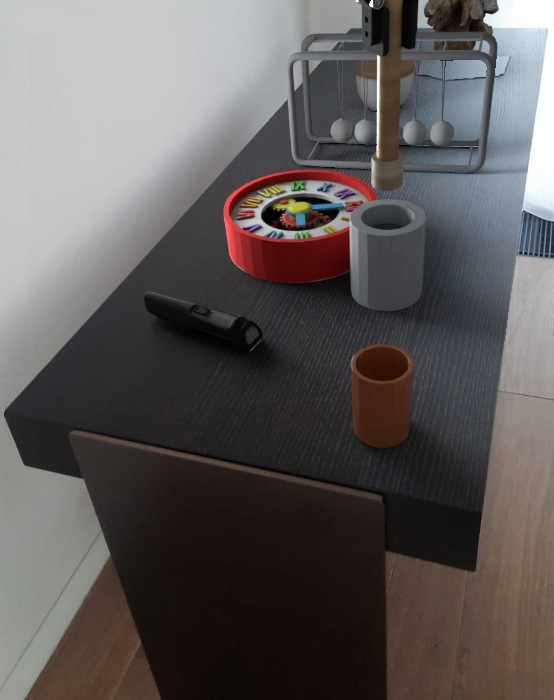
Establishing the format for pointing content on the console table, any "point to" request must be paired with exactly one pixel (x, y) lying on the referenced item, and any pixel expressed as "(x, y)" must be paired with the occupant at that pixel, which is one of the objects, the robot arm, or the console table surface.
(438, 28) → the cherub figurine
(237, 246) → the toy clock
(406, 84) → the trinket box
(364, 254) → the grey hollow cylinder
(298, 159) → the newton's cradle
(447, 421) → the console table surface
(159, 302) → the electric trimmer
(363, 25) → the robot arm
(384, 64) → the brush
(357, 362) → the pot
